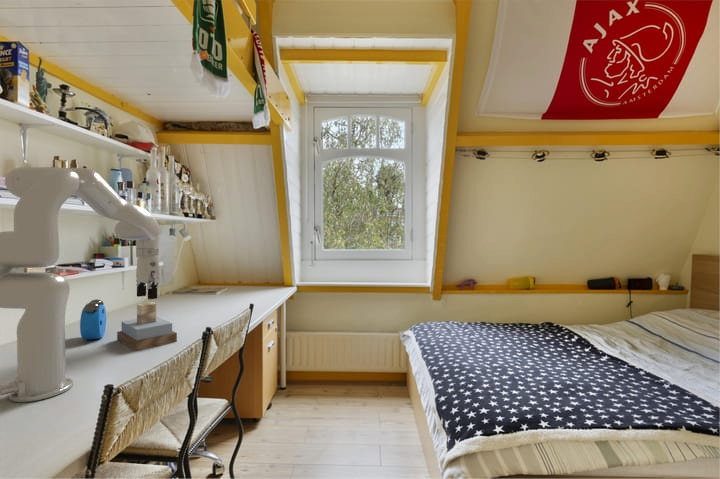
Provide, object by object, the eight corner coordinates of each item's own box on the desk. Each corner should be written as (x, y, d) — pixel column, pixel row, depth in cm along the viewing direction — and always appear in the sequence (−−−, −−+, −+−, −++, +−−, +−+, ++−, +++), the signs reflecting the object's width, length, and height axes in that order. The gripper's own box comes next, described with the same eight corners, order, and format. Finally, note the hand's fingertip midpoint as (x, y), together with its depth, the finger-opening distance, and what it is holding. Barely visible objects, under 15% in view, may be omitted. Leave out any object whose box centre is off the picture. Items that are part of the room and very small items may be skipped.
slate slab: (137, 340, 127) (136, 329, 127) (121, 331, 138) (121, 321, 138) (172, 333, 137) (172, 323, 136) (155, 325, 148) (155, 316, 147)
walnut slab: (136, 352, 127) (136, 341, 127) (117, 341, 138) (117, 331, 138) (176, 343, 138) (176, 332, 138) (155, 333, 149) (155, 324, 149)
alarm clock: (88, 335, 145) (88, 298, 144) (107, 333, 148) (106, 297, 147) (79, 344, 133) (79, 304, 133) (99, 342, 136) (99, 303, 135)
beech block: (142, 324, 134) (141, 305, 134) (136, 322, 137) (136, 304, 137) (156, 321, 138) (156, 303, 138) (151, 319, 141) (150, 302, 141)
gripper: (167, 253, 135) (167, 298, 135) (148, 252, 146) (147, 294, 146) (146, 254, 129) (145, 301, 129) (127, 252, 140) (127, 296, 140)
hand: (146, 297), depth 137 cm, fingers open, 9 cm apart
